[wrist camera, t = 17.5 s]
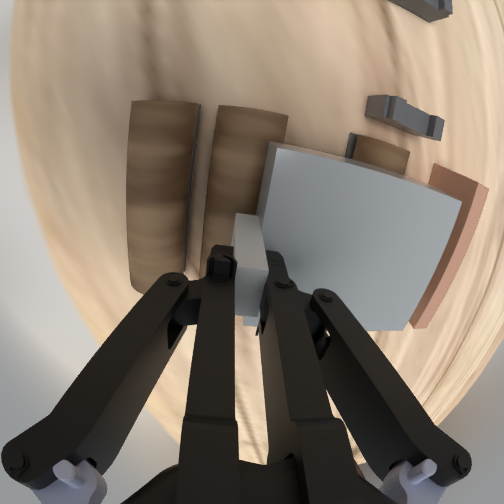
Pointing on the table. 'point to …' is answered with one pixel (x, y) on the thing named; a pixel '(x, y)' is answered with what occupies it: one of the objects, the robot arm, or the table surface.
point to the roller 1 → (158, 187)
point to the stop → (451, 239)
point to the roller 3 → (381, 154)
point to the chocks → (348, 155)
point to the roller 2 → (236, 170)
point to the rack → (395, 108)
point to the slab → (354, 231)
